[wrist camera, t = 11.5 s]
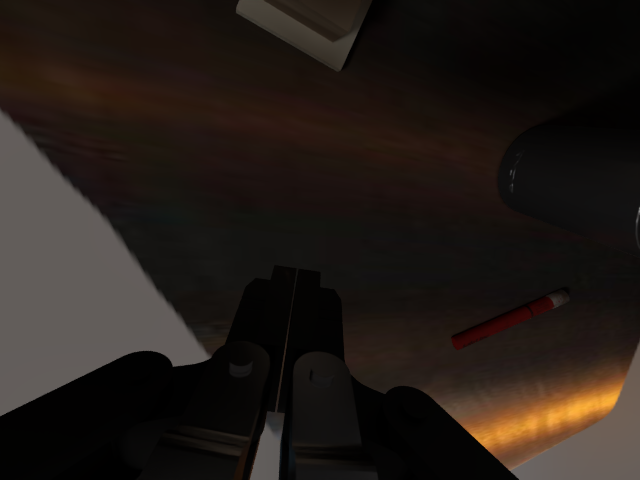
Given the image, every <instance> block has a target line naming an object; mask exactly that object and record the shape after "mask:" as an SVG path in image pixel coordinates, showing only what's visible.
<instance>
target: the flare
mask: <svg viewBox="0 0 640 480" xmlns="http://www.w3.org/2000/svg"><path fill="white" fill-rule="evenodd" d="M567 302H569V296H568V294H567V293H566V292H565V291H564V290H562V289H560V290H558V291H555V292H554V293H551V294H549V295H546V296H545V297H543V298H540V299H538V300H536V301H533V302H531V303H529V304H527V305H524V306H522V307H520V308H518V309H515V310H513V311H511V312H508V313H506V314H504V315H502V316H499V317H497V318H495V319H492V320H490V321H488V322H486V323H483V324H481V325H479V326H476V327H474V328H472V329H470V330H467V331H465V332H463V333H461V334H458V335H456V336H454V337H451V338H452V343H453V346H454V347H455V348H456V349H457V350H459V349H462V348H464V347H466V346H468V345H471V344H473V343H475V342H477V341H480V340H482V339H484V338H487V337H489V336H491V335H493V334H496V333H498V332H500V331H502V330H505V329H507V328H509V327H511V326H514V325H516V324H518V323H520V322H523V321H525V320H527V319H529V318H532V317H534V316H536V315H539V314H541V313H543V312H545V311H548V310H550V309H553V308H555V307H558V306H560V305H562V304H564V303H567Z"/></svg>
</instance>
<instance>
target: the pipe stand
mask: <svg viewBox="0 0 640 480" xmlns="http://www.w3.org/2000/svg"><path fill="white" fill-rule="evenodd" d="M371 2H372V0H239V3H238V5H237V8H236V13H238V14H239V15H241V16H243V17H244V18H246V19H248V20H250V21H251V22H253V23H255V24H256V25H258V26H260V27H262V28H263V29H265V30H267V31H269V32H270V33H272V34H274V35H275V36H277V37H279V38H281V39H282V40H284V41H286V42H287V43H289V44H291V45H293V46H294V47H296V48H298V49H299V50H301V51H303V52H305V53H306V54H308V55H310V56H312V57H313V58H315V59H317V60H318V61H320V62H322V63H324V64H325V65H327V66H329V67H330V68H332V69H334V70H336V71H337V72H338V71H341V69H342V66H343V64H344V62H345V60H346V58H347V55H348V53H349V51H350V49H351V47H352V44H353V42H354V40H355V38H356V35H357V33H358V31H359V29H360V27H361V24H362V22H363V20H364V18H365V16H366V13H367V11H368V9H369V7H370V5H371Z"/></svg>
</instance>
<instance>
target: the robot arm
mask: <svg viewBox="0 0 640 480" xmlns="http://www.w3.org/2000/svg"><path fill="white" fill-rule="evenodd" d="M498 187H499V191H500V195H501V197H502V199H503V201H504V202H505V203H506V205H507V206H508V207H509V208H511V209H513V210H514V211H516V212H519V213H522V214H524V215H527V216H530V217H532V218H535V219H538V220H541V221H543V222H545V223H548V224H551V225H553V226H556V227H559V228H561V229H564V230H567V231H569V232H572V233H575V234H577V235H580V236H583V237H585V238H588V239H591V240H593V241H596V242H599V243H602V244H604V245H607V246H610V247H612V248H615V249H618V250H620V251H623V252H626V253H628V254H631V255H634V256H636V257H639V258H640V130H629V129H611V128H594V127H578V126H560V125H542V126H537V127H534V128H532V129H529V130H528V131H526V132H525V133H523V134H522V135H520V136H519V137H518V138H517V139H516V140H515V141H514V142H513V143H512V145H511V146H510V147H509V149H508V150H507V152H506V154H505V156H504V158H503V160H502V163H501V166H500V169H499V175H498ZM296 269H297V268H290V267H283V266H276V265H275V266H274V269H273V273H272V277H271V280H266V279H259V278H255V279H254V280H253V281H252V282H251V283H249V284H248V285H247V286H246V287H245V290H244V293H243V296H242V300H241V301H240V304H239V308H238V310H237V312H236V315H235V318H234V321H233V323H232V326H231V329H230V332H229V335H228V337H227V340H226V343H225V345H223V346H221V347H220V348H219V349H217V350H216V352H215V353H214V354H213V356H212V357H211V358H210V359H209V360H207V361H204V362H201V363H197V364H192V365H184V366H176V367H173V366H172V363H171V361H170V360H169V359H168V358H167V357H166V356H165V355H163V354H161V353H158V352H153V351H139V352H134V353H131V354H128V355H125V356H123V357H121V358H119V359H117V360H115V361H113V362H111V363H109V364H106V365H104V366H102V367H100V368H98V369H96V370H94V371H92V372H90V373H88V374H86V375H84V376H82V377H80V378H78V379H76V380H74V381H72V382H70V383H68V384H66V385H63V386H61V387H59V388H57V389H55V390H53V391H51V392H49V393H47V394H45V395H43V396H41V397H39V398H37V399H35V400H33V401H31V402H28V403H26V404H24V405H23V406H21V407H18V408H16V409H14V410H12V411H10V412H8V413H6V414H4V415H2V416H0V480H250V477H251V473H252V469H253V465H254V461H255V457H256V453H257V450H258V446H259V442H260V436H261V434H262V432H263V430H264V427H265V421H266V415H267V411H271V412H275V407H276V400H277V394H278V387H279V381H280V374H281V368H282V362H283V355H284V349H285V342H286V335H287V329H288V322H289V316H290V309H291V302H292V296H293V289H294V283H295V276H296ZM277 412H280V413H285V416H284V424H283V431H282V437H281V443H280V463H279V480H519V479H518V478H517V477H516V476H515V475H514V474H512V473H511V472H510V471H509V470H508V469H507V468H506V467H505V466H504V465H503V464H502V463H501V462H500V461H499V460H498V459H496V458H495V457H494V456H493V455H492V454H491V453H490V452H489V451H488V450H487V449H486V448H485V447H484V446H482V445H481V444H480V443H479V442H478V441H477V440H476V439H475V438H474V437H473V436H472V435H471V434H470V433H469V432H467V431H466V430H465V429H464V428H463V427H462V426H461V425H460V424H459V423H458V422H457V421H456V420H455V419H453V418H452V417H451V416H450V415H449V414H448V413H447V412H446V411H445V410H444V409H443V408H442V407H441V406H440V405H438V404H437V403H436V402H435V401H434V400H433V399H432V398H431V397H430V396H428V395H427V394H426V393H424V392H422V391H420V390H418V389H416V388H413V387H408V386H398V387H394V388H392V389H390V390H389V391H388V392H387V393H386V394H383V393H380V392H378V391H376V390H373V389H371V388H369V387H367V386H365V385H363V384H361V383H360V382H358V381H357V380H356V379H355V378H354V377H353V376H352V375H351V374H350V371H349V369H348V367H347V366H346V364H345V360H344V343H343V324H342V305H341V299H340V297H339V296H338V294H337V293H336V291H335V290H334V289H328V288H321V287H320V272H317V271H311V270H304V269H298V276H297V282H296V288H295V295H294V301H293V307H292V314H291V320H290V327H289V334H288V341H287V348H286V355H285V362H284V369H283V375H282V382H281V389H280V396H279V403H278V410H277Z"/></svg>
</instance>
